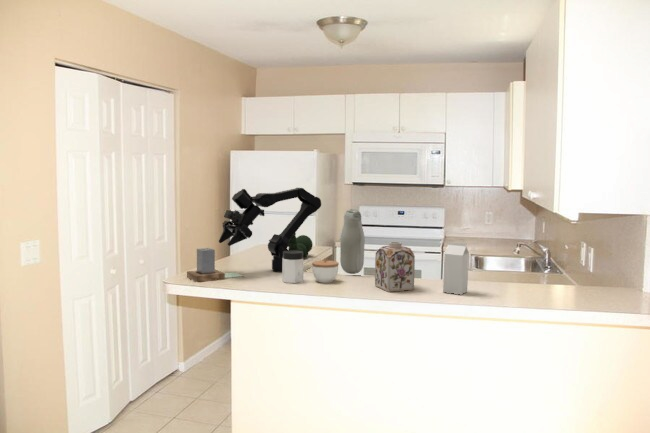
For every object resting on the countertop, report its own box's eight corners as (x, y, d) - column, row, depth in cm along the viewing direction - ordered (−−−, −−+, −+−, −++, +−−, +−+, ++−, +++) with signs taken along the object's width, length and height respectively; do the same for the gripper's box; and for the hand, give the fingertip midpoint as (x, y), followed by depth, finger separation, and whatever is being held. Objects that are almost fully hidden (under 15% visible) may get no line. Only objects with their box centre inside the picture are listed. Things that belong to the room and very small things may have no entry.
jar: (290, 284, 230) (291, 254, 229) (277, 280, 236) (278, 251, 235) (307, 281, 236) (308, 252, 235) (294, 278, 242) (294, 249, 241)
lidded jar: (307, 282, 234) (307, 259, 233) (319, 277, 244) (319, 255, 243) (331, 285, 230) (331, 261, 229) (342, 280, 239) (342, 257, 238)
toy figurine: (300, 266, 278) (317, 254, 302) (299, 227, 275) (316, 218, 298) (282, 265, 281) (299, 252, 304) (281, 226, 278) (299, 217, 301)
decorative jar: (400, 284, 234) (401, 239, 232) (414, 290, 223) (416, 243, 221) (373, 286, 229) (374, 240, 228) (387, 292, 218) (388, 245, 217)
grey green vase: (367, 273, 255) (369, 209, 252) (352, 276, 247) (354, 210, 245) (350, 270, 261) (352, 208, 259) (335, 273, 254) (336, 209, 251)
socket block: (214, 274, 247) (214, 268, 246) (224, 279, 237) (224, 273, 237) (186, 277, 240) (186, 271, 240) (196, 282, 231) (196, 276, 231)
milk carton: (461, 295, 216) (463, 244, 214) (442, 292, 219) (444, 242, 218) (467, 291, 222) (469, 242, 220) (449, 289, 225) (451, 240, 224)
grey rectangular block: (209, 276, 242) (209, 247, 241) (214, 278, 238) (214, 249, 237) (196, 277, 239) (196, 248, 238) (201, 280, 235) (201, 250, 234)
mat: (235, 273, 250) (235, 272, 250) (243, 276, 244) (243, 275, 244) (217, 274, 246) (217, 274, 246) (225, 278, 239) (225, 277, 239)
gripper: (226, 201, 251) (202, 228, 246) (245, 205, 236) (220, 233, 231) (243, 219, 256) (219, 245, 251) (262, 223, 241) (238, 251, 236)
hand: (223, 243), depth 242 cm, fingers open, 9 cm apart
